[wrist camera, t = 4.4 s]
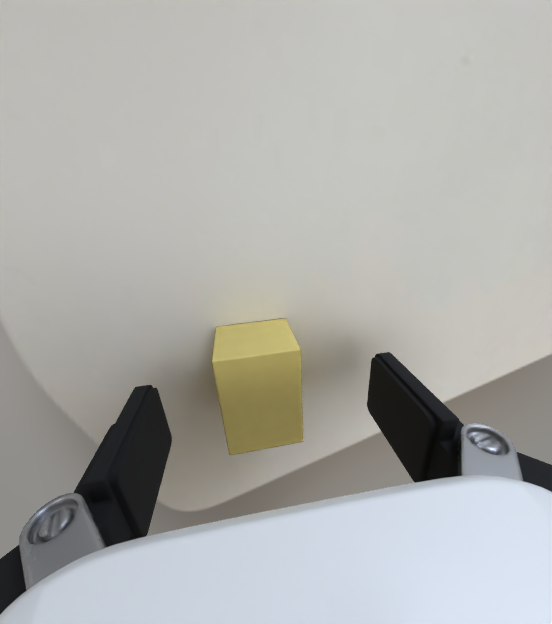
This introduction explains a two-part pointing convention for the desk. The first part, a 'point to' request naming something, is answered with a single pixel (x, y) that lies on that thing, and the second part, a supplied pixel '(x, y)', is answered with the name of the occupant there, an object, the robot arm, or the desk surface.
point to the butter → (258, 385)
